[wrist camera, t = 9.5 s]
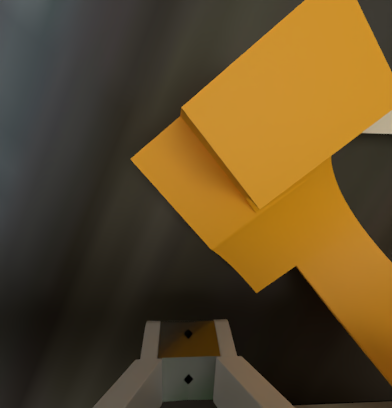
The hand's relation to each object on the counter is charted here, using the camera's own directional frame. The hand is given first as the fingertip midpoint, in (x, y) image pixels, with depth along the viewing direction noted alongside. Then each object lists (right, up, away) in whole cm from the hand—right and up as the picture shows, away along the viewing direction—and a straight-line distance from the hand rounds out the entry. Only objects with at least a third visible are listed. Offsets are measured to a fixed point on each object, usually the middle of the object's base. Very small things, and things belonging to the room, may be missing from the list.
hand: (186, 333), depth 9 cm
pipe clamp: (+4, +4, +2) cm, 6 cm away
